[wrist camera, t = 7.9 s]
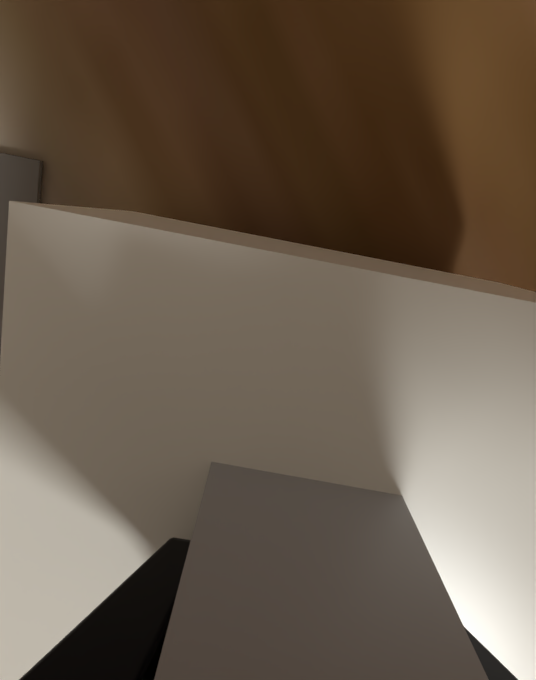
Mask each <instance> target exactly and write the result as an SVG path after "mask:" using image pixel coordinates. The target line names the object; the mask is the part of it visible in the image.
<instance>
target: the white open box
mask: <svg viewBox="0 0 536 680" xmlns="http://www.w3.org/2000/svg"><path fill="white" fill-rule="evenodd" d="M172 537H176V538H182V539H188V540H191V541H190V545H189V549H188V553H187V556H186V560H185V564H184V568H183V572H182V575H181V579H180V583H179V587H178V591H177V594H176V598H175V602H174V606H173V610H172V613H171V617H170V621H169V625H168V629H167V633H166V636H165V640H164V644H163V648H162V652H161V655H160V659H159V663H158V667H157V671H156V674H155V678H154V680H489V679H488V677H487V675H486V673H485V671H484V669H483V666H482V664H481V662H480V660H479V658H478V656H477V654H476V652H475V649H474V647H473V645H472V643H471V641H470V639H469V637H468V635H467V632H466V630H465V628H466V629H467V630H468V631H469V632H470V633H471V634H472V635H473V636H474V637H475V638H476V639H477V640H478V641H479V642H480V643H481V644H482V645H483V646H484V647H485V648H486V649H488V650H489V651H490V652H491V653H492V654H493V655H494V656H495V657H496V658H497V659H498V660H499V661H500V662H501V663H502V664H503V665H504V666H505V667H506V668H507V669H508V670H509V671H510V672H511V673H512V674H513V675H514V676H515V677H516V678H517V679H518V680H536V292H534V291H530V290H526V289H522V288H519V287H515V286H511V285H507V284H504V283H500V282H494V281H489V280H484V279H479V278H474V277H469V276H464V275H458V274H453V273H448V272H443V271H438V270H433V269H428V268H423V267H417V266H412V265H407V264H402V263H397V262H392V261H387V260H381V259H376V258H371V257H366V256H361V255H356V254H351V253H345V252H340V251H335V250H330V249H325V248H320V247H315V246H309V245H304V244H299V243H294V242H289V241H284V240H279V239H273V238H268V237H263V236H258V235H253V234H248V233H243V232H237V231H232V230H227V229H222V228H217V227H212V226H207V225H201V224H196V223H191V222H186V221H181V220H176V219H171V218H165V217H160V216H155V215H150V214H145V213H140V212H135V211H126V210H114V209H102V208H90V207H78V206H66V205H54V204H42V203H31V202H19V201H9V211H8V229H7V247H6V265H5V283H4V301H3V318H2V336H1V354H0V680H19V679H20V678H21V677H22V676H23V675H24V674H26V673H27V672H28V671H29V670H30V669H31V668H32V667H33V666H34V665H35V664H36V663H37V662H38V661H39V660H41V659H42V658H43V657H44V656H45V655H46V654H47V653H48V652H49V651H50V650H51V649H52V648H53V647H54V646H55V645H57V644H58V643H59V642H60V641H61V640H62V639H63V638H64V637H65V636H66V635H67V634H68V633H69V632H70V631H72V630H73V629H74V628H75V627H76V626H77V625H78V624H79V623H80V622H81V621H82V620H83V619H84V618H85V617H87V616H88V615H89V614H90V613H91V612H92V611H93V610H94V609H95V608H96V607H97V606H98V605H99V604H100V603H101V602H103V601H104V600H105V599H106V598H107V597H108V596H109V595H110V594H111V593H112V592H113V591H114V590H115V589H116V588H118V587H119V586H120V585H121V584H122V583H123V582H124V581H125V580H126V579H127V578H128V577H129V576H130V575H131V574H133V573H134V572H135V571H136V570H137V569H138V568H139V567H140V566H141V565H142V564H143V563H144V562H145V561H146V560H147V559H149V558H150V557H151V556H152V555H153V554H154V553H155V552H156V551H157V550H158V549H159V548H160V547H161V546H162V545H163V544H165V543H166V542H167V541H168V540H169V539H170V538H172ZM464 627H465V628H464Z"/></svg>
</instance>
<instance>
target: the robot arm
mask: <svg viewBox="0 0 536 680" xmlns="http://www.w3.org/2000/svg"><path fill="white" fill-rule="evenodd" d="M190 541H191V540H188V539H182V538H176V537H172V538H170V539H169V540H168V541H167V542H166V543H165V544H163V545H162V546H161V547H160V548H159V549H158V550H157V551H156V552H155V553H154V554H153V555H152V556H151V557H150V558H149V559H147V560H146V561H145V562H144V563H143V564H142V565H141V566H140V567H139V568H138V569H137V570H136V571H135V572H134V573H133V574H131V575H130V576H129V577H128V578H127V579H126V580H125V581H124V582H123V583H122V584H121V585H120V586H119V587H118V588H116V589H115V590H114V591H113V592H112V593H111V594H110V595H109V596H108V597H107V598H106V599H105V600H104V601H103V602H101V603H100V604H99V605H98V606H97V607H96V608H95V609H94V610H93V611H92V612H91V613H90V614H89V615H88V616H87V617H85V618H84V619H83V620H82V621H81V622H80V623H79V624H78V625H77V626H76V627H75V628H74V629H73V630H72V631H70V632H69V633H68V634H67V635H66V636H65V637H64V638H63V639H62V640H61V641H60V642H59V643H58V644H57V645H55V646H54V647H53V648H52V649H51V650H50V651H49V652H48V653H47V654H46V655H45V656H44V657H43V658H42V659H41V660H39V661H38V662H37V663H36V664H35V665H34V666H33V667H32V668H31V669H30V670H29V671H28V672H27V673H26V674H24V675H23V676H22V677H21V678H20V679H19V680H154V678H155V674H156V671H157V667H158V663H159V659H160V655H161V652H162V648H163V644H164V640H165V636H166V633H167V629H168V625H169V621H170V617H171V613H172V610H173V606H174V602H175V598H176V594H177V591H178V587H179V583H180V579H181V575H182V572H183V568H184V564H185V560H186V556H187V553H188V549H189V545H190ZM464 628H465V627H464ZM465 630H466V632H467V635H468V637H469V639H470V641H471V643H472V645H473V647H474V649H475V652H476V654H477V656H478V658H479V660H480V662H481V664H482V666H483V669H484V671H485V673H486V675H487V677H488V679H489V680H518V679H517V678H516V677H515V676H514V675H513V674H512V673H511V672H510V671H509V670H508V669H507V668H506V667H505V666H504V665H503V664H502V663H501V662H500V661H499V660H498V659H497V658H496V657H495V656H494V655H493V654H492V653H491V652H490V651H489V650H488V649H486V648H485V647H484V646H483V645H482V644H481V643H480V642H479V641H478V640H477V639H476V638H475V637H474V636H473V635H472V634H471V633H470V632H469V631H468V630H467V629H466V628H465Z"/></svg>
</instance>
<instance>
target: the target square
mask: <svg viewBox="0 0 536 680" xmlns="http://www.w3.org/2000/svg"><path fill="white" fill-rule="evenodd" d="M42 165H43V161H39V160H34V159H29V158H24V157H19V156H14V155H9V154H4V153H0V354H1V336H2V318H3V301H4V283H5V265H6V247H7V229H8V211H9V201H19V202H31V203H40V194H41V179H42Z"/></svg>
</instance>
